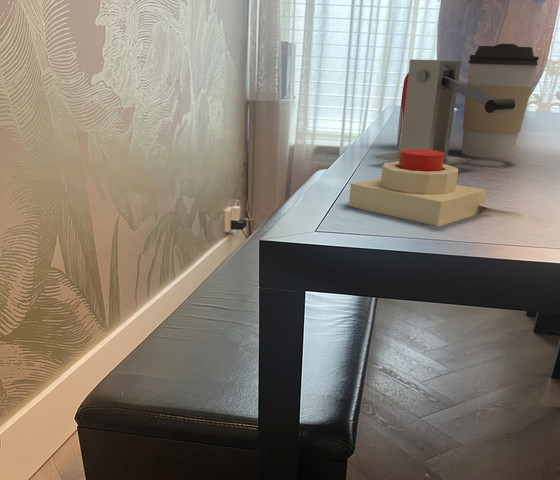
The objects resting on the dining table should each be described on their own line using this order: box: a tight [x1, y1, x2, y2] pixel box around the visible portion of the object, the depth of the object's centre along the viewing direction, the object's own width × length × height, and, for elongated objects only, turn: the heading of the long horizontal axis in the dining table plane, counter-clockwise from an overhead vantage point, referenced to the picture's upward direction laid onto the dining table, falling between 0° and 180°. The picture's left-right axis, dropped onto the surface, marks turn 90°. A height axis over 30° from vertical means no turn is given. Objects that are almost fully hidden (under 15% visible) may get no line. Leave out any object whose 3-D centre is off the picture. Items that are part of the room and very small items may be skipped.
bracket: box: [374, 58, 472, 166], centre depth 79 cm, size 10×8×13 cm
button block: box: [348, 161, 487, 227], centre depth 58 cm, size 10×8×4 cm
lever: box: [441, 67, 515, 113], centre depth 75 cm, size 12×5×2 cm, turn 45°
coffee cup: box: [461, 43, 540, 159], centre depth 84 cm, size 9×9×15 cm
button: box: [399, 149, 444, 171], centre depth 57 cm, size 4×4×2 cm
